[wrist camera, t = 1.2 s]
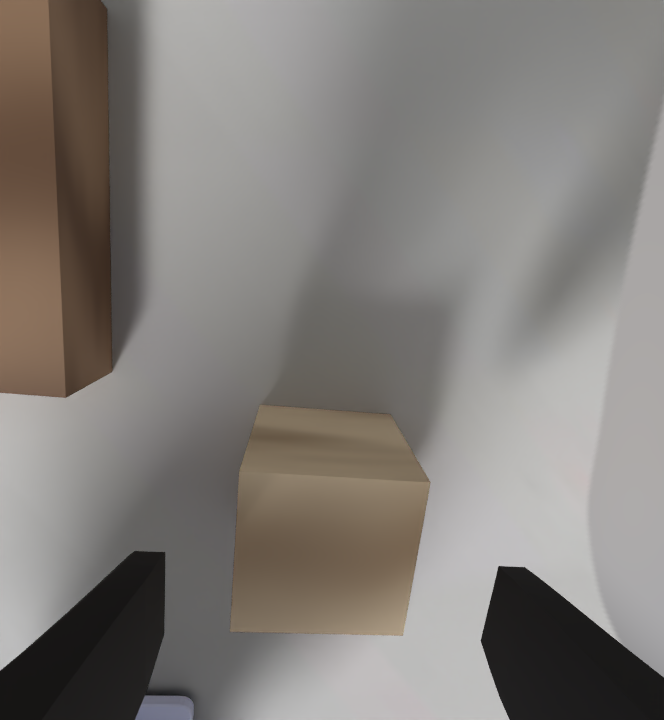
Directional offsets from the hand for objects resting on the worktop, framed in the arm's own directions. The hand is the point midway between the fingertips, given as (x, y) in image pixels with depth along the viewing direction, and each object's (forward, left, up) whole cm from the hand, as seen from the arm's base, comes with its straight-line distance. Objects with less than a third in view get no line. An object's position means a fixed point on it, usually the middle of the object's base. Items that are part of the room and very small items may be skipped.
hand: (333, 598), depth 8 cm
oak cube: (0, 0, -6) cm, 6 cm away
